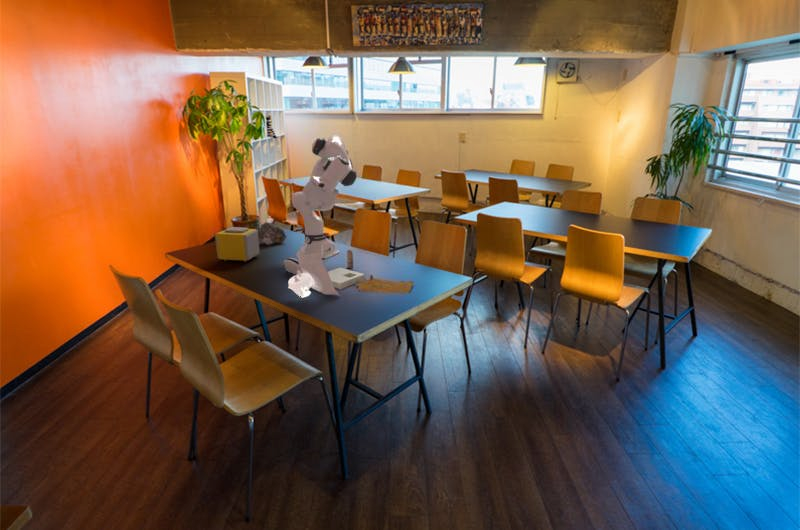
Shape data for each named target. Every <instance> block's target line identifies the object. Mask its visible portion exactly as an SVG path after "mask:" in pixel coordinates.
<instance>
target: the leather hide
mask: <svg viewBox="0 0 800 530" xmlns="http://www.w3.org/2000/svg"><path fill="white" fill-rule="evenodd" d="M413 285H414V281H412V280H409V281H408V280H400V281H394V280H388V279H381V278H377V277H376V278H375V277H374V276H373V275H372V274H370V277H369V278H368V279H365V280H363V281H360V282H358V283H355V284H354V286H357V287H358V288H357V290H360V291H359V292H363V291H370V293H376V294H377V292H378V293H379V294H385V293H386V294H387V295H389V294H388V293H391V294H390V295H395V294H394V293H409V292H410V293H411V290H412V287H413ZM410 293H409V294H410ZM386 294H385V295H386Z"/></svg>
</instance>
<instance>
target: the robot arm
mask: <svg viewBox="0 0 800 530" xmlns="http://www.w3.org/2000/svg"><path fill="white" fill-rule="evenodd" d="M311 151H312V153H313V154H314V155H315V156H318V157H319V159H317V160H316V162H315V164H314V166H313V167H312V168H313V169H312V171H311V174H310V178H309V180H308V182H307V183H306V184H305V186H304V187H303V189H302V191H296V192H294V193H293V195H292V197H291V204H292V206H293V207H294V209H296V210H297V211H298V212H299V213H300V215H301V217H302V220H303V223H304V240H305V241H304V242H307V247H306V248H305V250H304V252H303V254H311V253H322V258H321V259H328V258H330V257H333V256H335V255H338V254H339V253H340V250H338V249H336V244H335V243H334V242H333V241H332V240H330V239H329V238H327V237H329V236H330V233H329V232H325V229H324V227H325V226H324V220H323V218H322V217H321V216H318V215H317V213H316V212H318V211H319V212H325V211H330V210H333V207H334V205H335V203H336V200H337V198H338V196H339V195H340V194H339V193H340V192H339V189H336V188H337V186H338V184H339V183H340V184H341V185H342V186H344V187H350V186H353V185H354V183H355V182H356V180H357V171H356V170H355V168H354V166H353V162H352V159H351V158H350V156H349V151H348V150H347V149H346V145H345V142H344V140H343V138H342V137H341V136H339V135H337V134H333V135H331V136H329V137H328V139H326V138H325V137H318V138H316V139H315V140H314V141H313V143H312V145H311ZM315 211H316V212H315Z"/></svg>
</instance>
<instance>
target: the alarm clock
mask: <svg viewBox="0 0 800 530" xmlns="http://www.w3.org/2000/svg"><path fill="white" fill-rule="evenodd" d="M214 239H215V247H216V254H217V256H216V257H217V259H218V260H224V262H226V261H228V260H229V261H243V262H245V263H247V262H248V261H249V260H251V259H253V257H254V258H255V257H256V256H258V255H260V252H261V251H260V243H259V240H260V239H259V238H258V229H256V228H249V227H242V226H241V227H240V226H238V227H237V226H230V227H228V228H226V229H223V230H221V231H218V232H216V233H215V234H214ZM246 261H247V262H246Z"/></svg>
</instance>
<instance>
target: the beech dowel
mask: <svg viewBox="0 0 800 530" xmlns="http://www.w3.org/2000/svg"><path fill="white" fill-rule="evenodd" d="M346 255H347V256H346V258H347V269H349V268H352V269H354V251H353V250H352V249H348V250H347V251H346Z"/></svg>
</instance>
